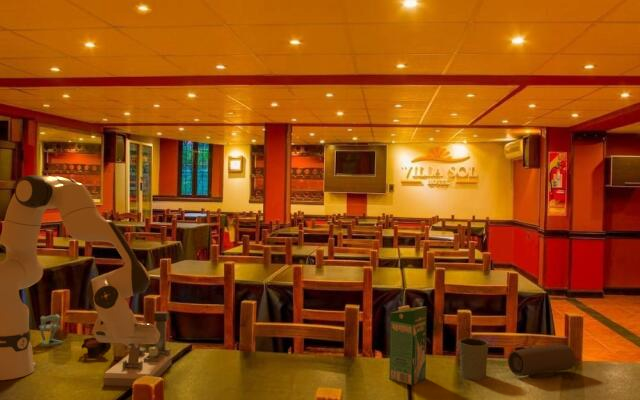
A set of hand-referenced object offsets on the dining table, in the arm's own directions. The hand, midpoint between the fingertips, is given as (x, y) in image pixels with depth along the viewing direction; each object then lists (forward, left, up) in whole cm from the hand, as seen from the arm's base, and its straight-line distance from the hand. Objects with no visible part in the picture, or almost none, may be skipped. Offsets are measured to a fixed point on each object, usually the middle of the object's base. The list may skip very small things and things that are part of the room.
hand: (133, 345), depth 180 cm
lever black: (0, +14, -6) cm, 16 cm away
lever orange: (0, -1, -6) cm, 6 cm away
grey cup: (+103, +53, -11) cm, 117 cm away
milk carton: (+83, +40, -11) cm, 93 cm away
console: (-2, +5, -11) cm, 12 cm away
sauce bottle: (-19, +15, -11) cm, 26 cm away
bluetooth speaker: (+125, +64, -12) cm, 141 cm away
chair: (-60, +18, -11) cm, 63 cm away
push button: (+1, +9, -7) cm, 12 cm away
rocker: (-8, +11, -6) cm, 15 cm away
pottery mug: (-30, +13, -12) cm, 35 cm away
